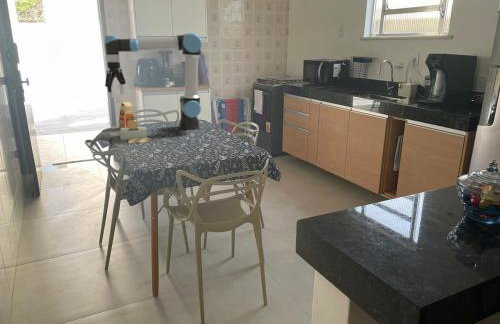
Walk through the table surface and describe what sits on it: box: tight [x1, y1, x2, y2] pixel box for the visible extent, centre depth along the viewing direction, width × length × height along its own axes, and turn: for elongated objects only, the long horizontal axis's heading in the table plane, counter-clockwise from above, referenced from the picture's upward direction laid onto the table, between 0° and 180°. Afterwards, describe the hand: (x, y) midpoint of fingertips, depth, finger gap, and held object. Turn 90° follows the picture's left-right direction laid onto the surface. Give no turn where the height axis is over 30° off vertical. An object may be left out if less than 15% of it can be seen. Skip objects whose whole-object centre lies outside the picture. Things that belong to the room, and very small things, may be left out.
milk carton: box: [118, 100, 135, 130], centre depth 268 cm, size 9×9×20 cm
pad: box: [128, 137, 150, 145], centre depth 238 cm, size 12×10×1 cm
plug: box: [128, 116, 138, 131], centre depth 247 cm, size 5×5×13 cm
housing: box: [119, 126, 148, 141], centre depth 248 cm, size 16×12×5 cm
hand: (117, 95), depth 243 cm, fingers open, 13 cm apart
